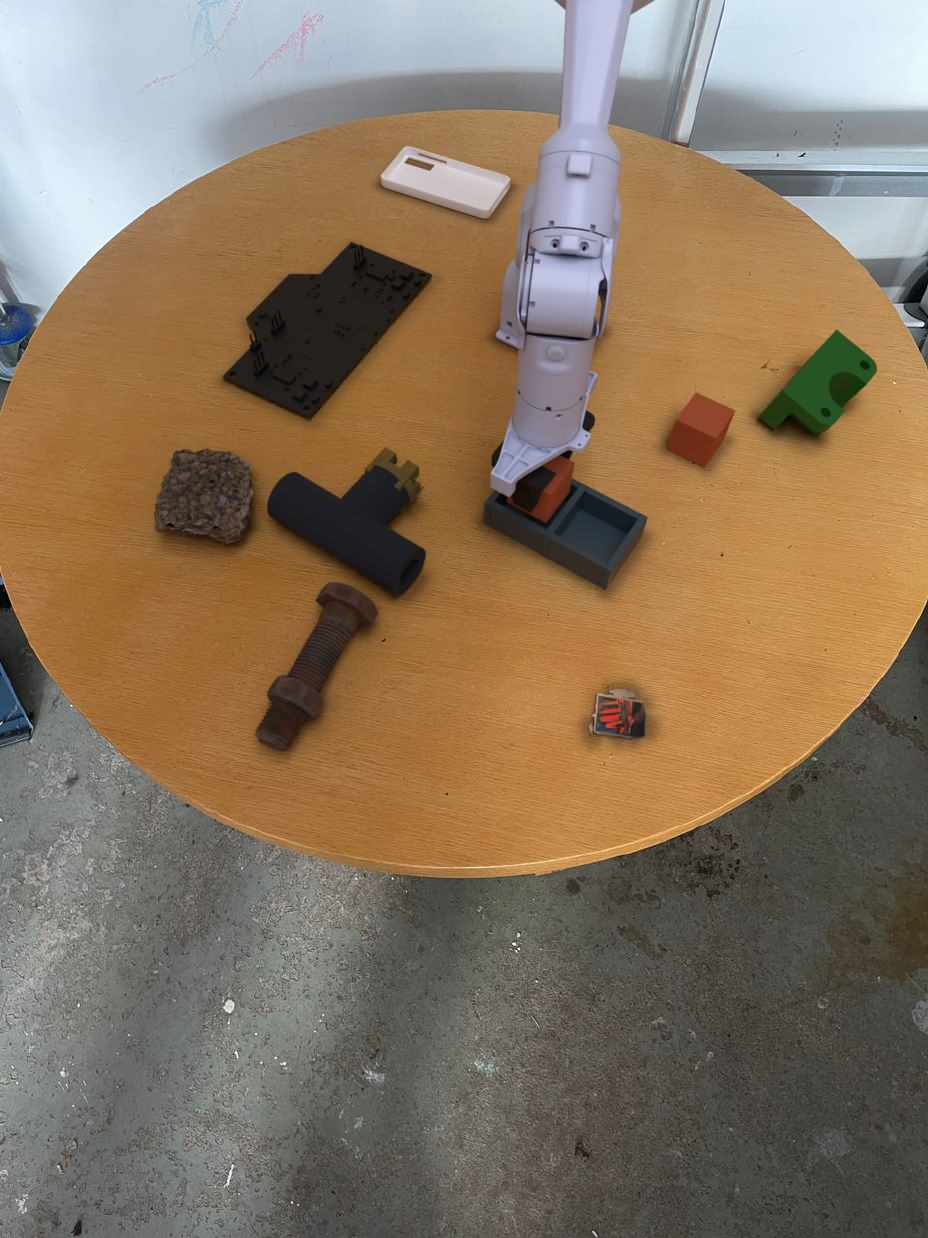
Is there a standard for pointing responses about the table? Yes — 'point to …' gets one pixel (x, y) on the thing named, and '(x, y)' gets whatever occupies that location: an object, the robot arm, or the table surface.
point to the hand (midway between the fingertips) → (537, 487)
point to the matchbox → (619, 715)
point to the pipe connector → (357, 520)
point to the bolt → (314, 664)
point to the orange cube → (552, 489)
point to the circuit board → (323, 327)
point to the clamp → (822, 386)
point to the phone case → (447, 183)
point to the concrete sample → (206, 496)
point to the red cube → (700, 429)
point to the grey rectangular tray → (574, 531)
